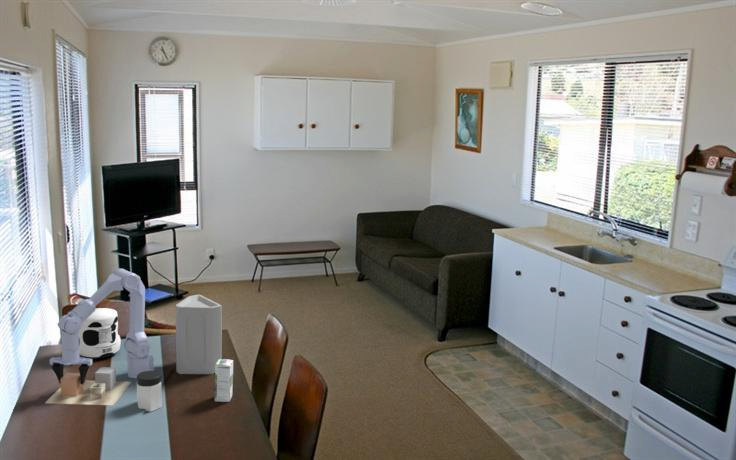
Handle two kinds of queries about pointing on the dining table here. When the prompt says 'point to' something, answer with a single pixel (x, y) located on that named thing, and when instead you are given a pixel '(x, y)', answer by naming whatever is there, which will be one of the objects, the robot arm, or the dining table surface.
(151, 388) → the jar
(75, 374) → the terracotta cover
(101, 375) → the grey cover
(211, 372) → the white triangular prism
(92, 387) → the letter cube
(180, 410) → the dining table surface
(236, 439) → the dining table surface
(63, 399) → the birch board
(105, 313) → the milk container
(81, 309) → the robot arm
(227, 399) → the syrup box
